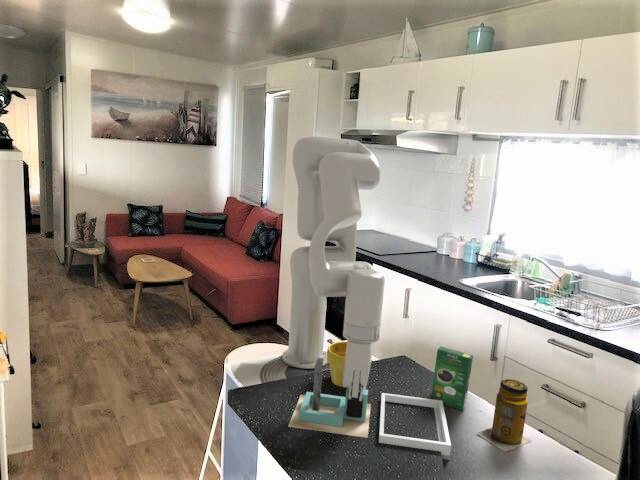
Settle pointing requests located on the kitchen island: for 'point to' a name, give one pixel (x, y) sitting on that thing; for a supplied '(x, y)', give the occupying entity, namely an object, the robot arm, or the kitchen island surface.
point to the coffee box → (451, 377)
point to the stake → (317, 384)
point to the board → (347, 427)
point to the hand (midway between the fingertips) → (354, 412)
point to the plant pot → (337, 361)
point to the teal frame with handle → (334, 402)
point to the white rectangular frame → (440, 445)
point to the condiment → (508, 416)
